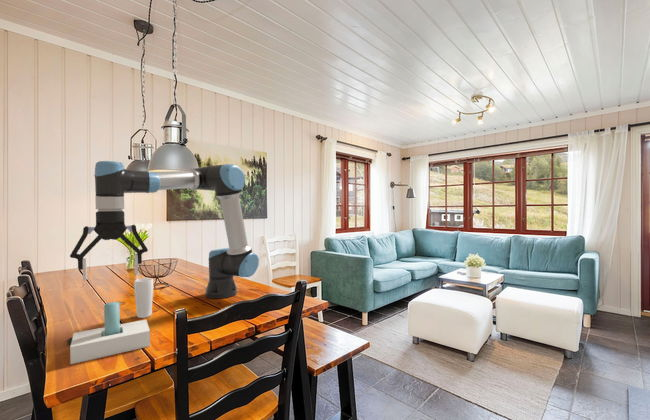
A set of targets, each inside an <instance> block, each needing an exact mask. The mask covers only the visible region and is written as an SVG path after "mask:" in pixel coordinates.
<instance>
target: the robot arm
mask: <svg viewBox="0 0 650 420" xmlns="http://www.w3.org/2000/svg"><path fill="white" fill-rule="evenodd" d="M94 183H95V184H94V185H95V187H94V188H95V191H94V192H95V210H97V211H96V212H95V226H88V225H85V226H84V227H83V229H82V235H81V237H80V238H79V240H78V241H77V242H76V245H75V246H74V248H73V250H72V252H71V253H70V255H69V257H70V258H72V259H76V260H77V269H78V270H79V271H81V270H82V281H83V282H85V281H87V277H88V275H87V273H88V272H87V258H86V257H85V256H86V255H87V254H89V252H90V251H92V249H93V248H94V247H95V246H96V245H97V244H98V243H99V242H100V241H101V240H103V241H109V240H115V241H116V240H119V239H121V240H122V241H123V242H124V243H125V244H126V245H127V246H128V247H129V248H131V249H132V250H133V251H134V252H135V254H134V275H135V276H138V275H139V265H142V262H143V260H142V259H143V257H142V255H143V254H144V253H147V252H148V251H149V249H148V248H147V246H146V244H145V242H144V241H143V239H142V237H140V235H139V233H138V232H137V226H136V225H135V224H131V225H126V224H125V223H126V222H125V211H124V209H125V194H132V193H133V194H138V193H142V194H143V193H145V194H153V193H157V192H159V191H166V190H167V191H168V190H178V189H180V190H181V189H189V190H191V191H194V190H200V191H202V190H203V191H213V192H214V193H215V197H216V198H218V199H219V201H220V206H221V211H222V216H223V222H224V227H225V232H226V237H227V243H228V247H226V248H225V247H224V248H218V249H211V250H210V251H209V252H208V282H207V285H206V288H205V297H206V298H209V299H224V298H230V297H233V296H235V295H237V293H238V287H237V285H236V282H235V279H234V277H238V278H239V277H240V278H251V277H252V276H254V275H255V273H256V272H257V270H258V267H259V266H260V265H259V263H260V260H259V256H258V255H257V254H256V253H254V252H253V249H252V246H251V245H250V244H248V239H247V234H246V233H247V232H246V226H245V220H244V216H243V210H242V205H241V201H240V196H241V195H242V193H243V191H242V190H243V188H244V186H245V183H246V177H245V174H244V171H243V169H242V168H240V167H239V165H237V164H229V163H225V164H216V165H207V166H201V167H197V168H196V167H195V168H188V169H187V170H177V171H176V170H173V171H171V170H170V171H167V170H166V171H149V170H147V171H146V170H133V169H127V168H125V166H124V163H122V162H121V161H115V160H114V161H113V160H99V161H98V162H96V163H95V166H94ZM126 230H128V231H129V232H132V234H133V236H134V238H135V239H136V241H137V243H138V244H139V246H140V247H141V248H139V247H138V246H136V244H135V243H133V242H132V241H131V240H130V239H129V238H128V237H127V236H125V234H124V233H125V231H126ZM92 232H95V233H96V234H97V236H96V237H95V238H94V239H93V240H92V241H91V242H90V243H89V244H88V245H87V246H86V247H85V248H84V249H83V250H82V251H81V252H80V253H78V252H79V251H80V249H81V247H82V245H83V244H84V242H85V241H86V239H87V237H88V235H90V234H92Z"/></svg>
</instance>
